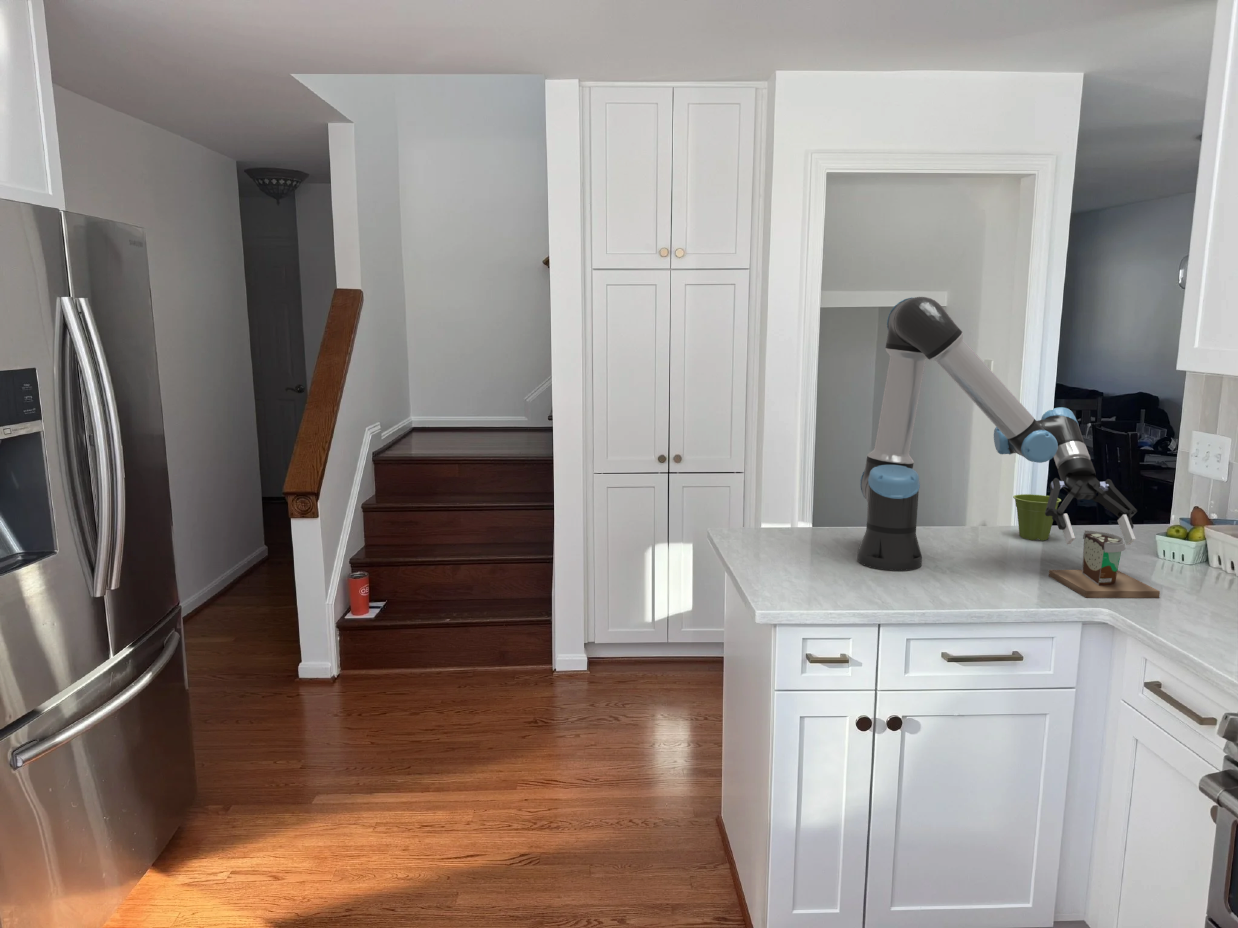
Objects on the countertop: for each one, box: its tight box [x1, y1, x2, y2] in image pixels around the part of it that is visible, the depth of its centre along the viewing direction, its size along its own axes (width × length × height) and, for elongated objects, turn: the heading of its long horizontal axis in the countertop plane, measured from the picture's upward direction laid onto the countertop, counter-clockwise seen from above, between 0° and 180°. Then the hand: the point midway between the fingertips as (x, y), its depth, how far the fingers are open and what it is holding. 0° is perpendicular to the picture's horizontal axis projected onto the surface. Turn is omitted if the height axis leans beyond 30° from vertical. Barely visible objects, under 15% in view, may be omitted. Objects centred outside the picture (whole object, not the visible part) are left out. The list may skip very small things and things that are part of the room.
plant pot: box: [1012, 493, 1062, 541], centre depth 236 cm, size 12×12×11 cm
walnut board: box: [1048, 569, 1161, 599], centre depth 194 cm, size 16×16×2 cm
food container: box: [1081, 529, 1126, 586], centre depth 193 cm, size 12×6×10 cm, turn 172°
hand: (1101, 541), depth 195 cm, fingers open, 13 cm apart
